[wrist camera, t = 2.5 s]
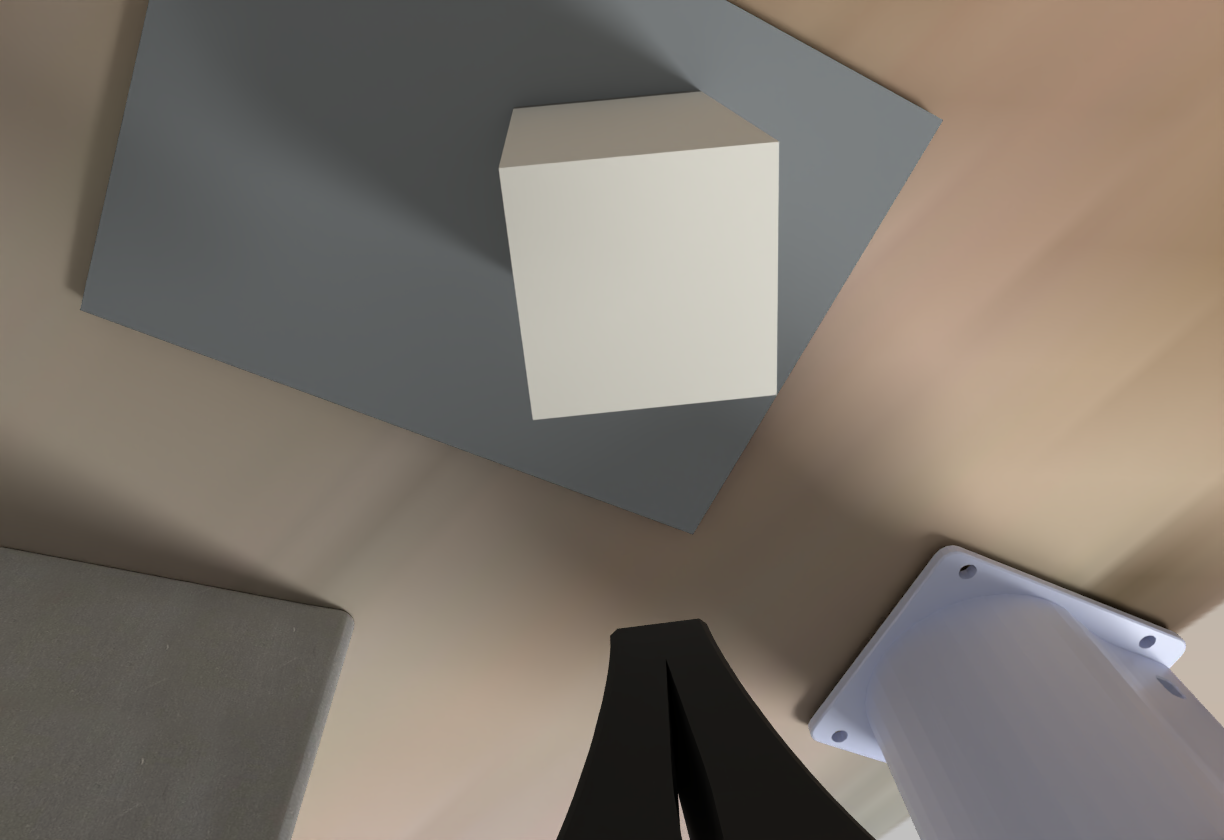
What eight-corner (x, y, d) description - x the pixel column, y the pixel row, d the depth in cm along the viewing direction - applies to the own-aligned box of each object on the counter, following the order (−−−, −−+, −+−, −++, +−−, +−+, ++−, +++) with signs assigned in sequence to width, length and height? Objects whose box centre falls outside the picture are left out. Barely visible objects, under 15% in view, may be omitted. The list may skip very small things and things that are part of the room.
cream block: (699, 90, 18) (778, 141, 12) (704, 269, 20) (776, 394, 14) (513, 107, 18) (498, 168, 12) (536, 286, 20) (532, 420, 14)
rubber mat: (933, 116, 20) (942, 120, 19) (690, 524, 24) (692, 534, 24) (222, -275, 16) (212, -283, 15) (90, 302, 20) (80, 309, 20)
